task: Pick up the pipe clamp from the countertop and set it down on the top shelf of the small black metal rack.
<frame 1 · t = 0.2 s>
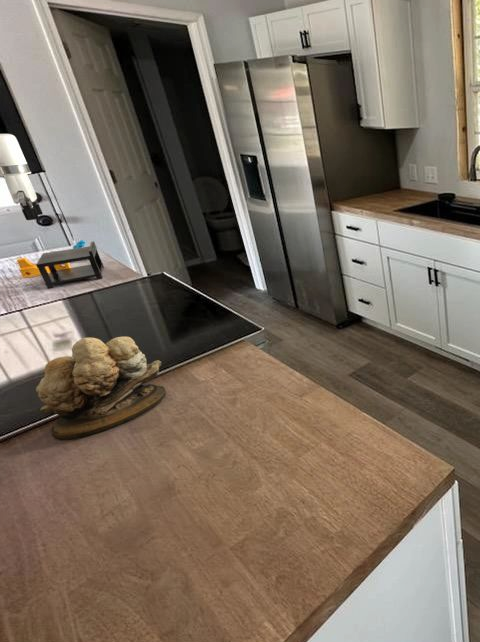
hand: (35, 217, 152), 20 cm above the worktop, tool pointing down, fingers open, 9 cm apart
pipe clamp: (48, 273, 156), on the worktop
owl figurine: (116, 412, 83), on the worktop
rack: (77, 277, 151), on the worktop
gear: (79, 260, 169), on the worktop
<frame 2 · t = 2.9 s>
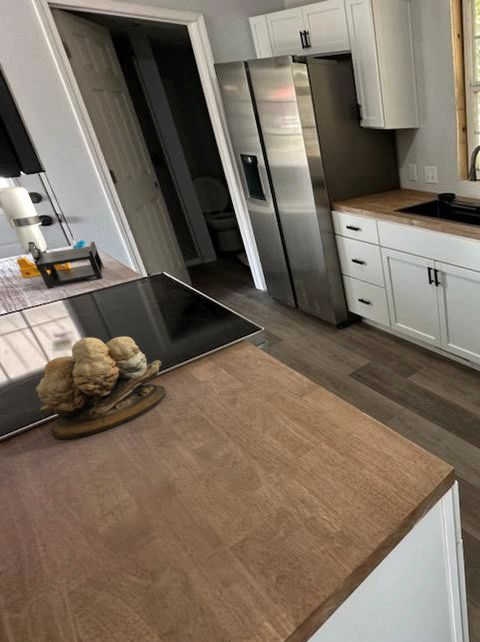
hand: (45, 268, 155), 2 cm above the worktop, tool pointing down, fingers closed on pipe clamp, 4 cm apart
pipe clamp: (48, 273, 156), on the worktop, touching gripper
everything else where it was.
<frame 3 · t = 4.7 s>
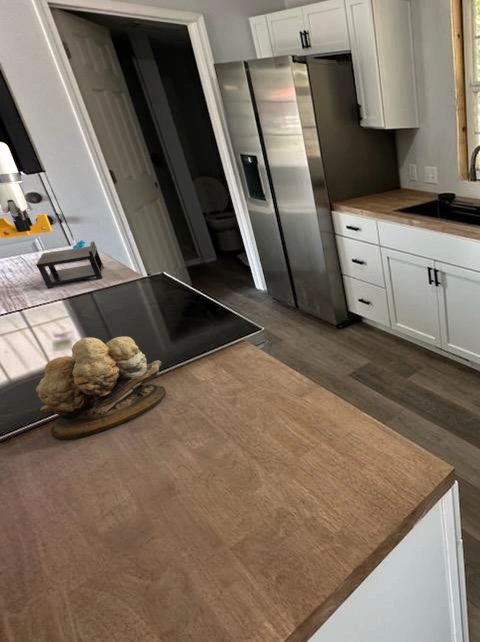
hand: (25, 229, 149), 17 cm above the worktop, tool pointing down, fingers closed on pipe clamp, 4 cm apart
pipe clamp: (28, 234, 150), point 15 cm above the worktop, touching gripper
everything else where it was.
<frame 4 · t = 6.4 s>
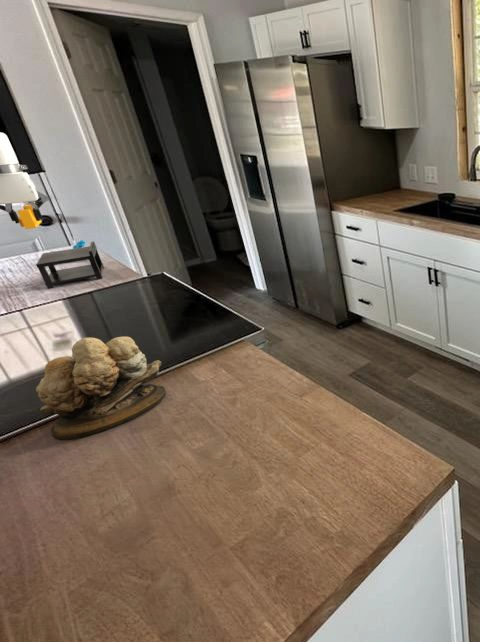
hand: (28, 220, 148), 20 cm above the worktop, tool pointing down, fingers closed on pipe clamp, 4 cm apart
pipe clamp: (30, 226, 148), point 18 cm above the worktop, touching gripper
everything else where it was.
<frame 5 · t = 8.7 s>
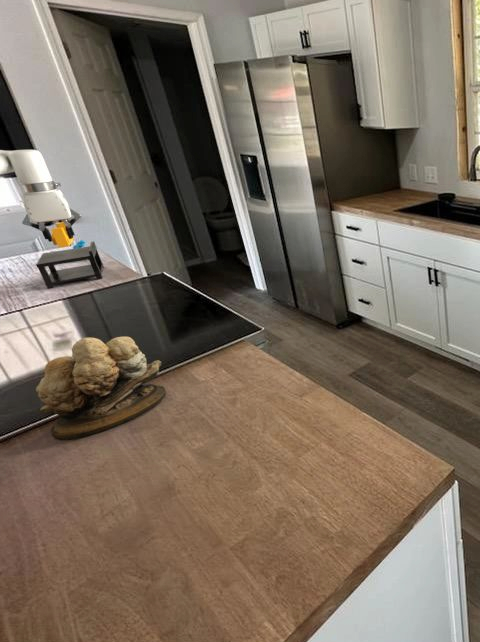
hand: (61, 238, 146), 15 cm above the worktop, tool pointing down, fingers closed on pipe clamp, 4 cm apart
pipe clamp: (63, 244, 146), point 13 cm above the worktop, touching gripper
everything else where it was.
when the fingers open (11 cm above the worktop, at t = 10.1 s): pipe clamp stays where it is, resting on rack.
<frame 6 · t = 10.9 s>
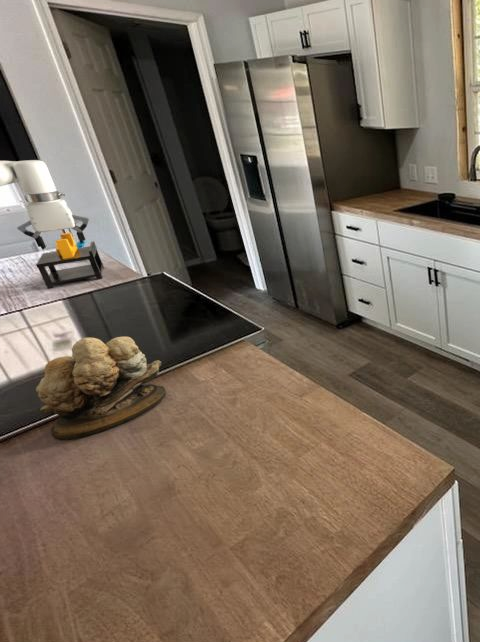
hand: (63, 245, 146), 12 cm above the worktop, tool pointing down, fingers open, 9 cm apart
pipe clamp: (67, 254, 148), point 9 cm above the worktop, touching rack
everything else where it was.
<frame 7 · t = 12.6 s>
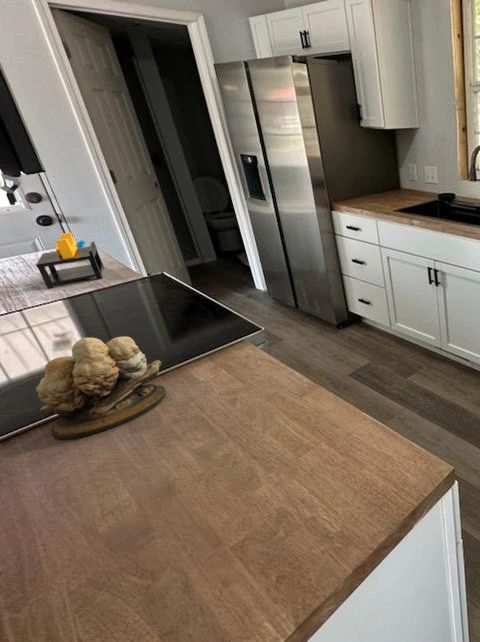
nothing on the worktop moved.
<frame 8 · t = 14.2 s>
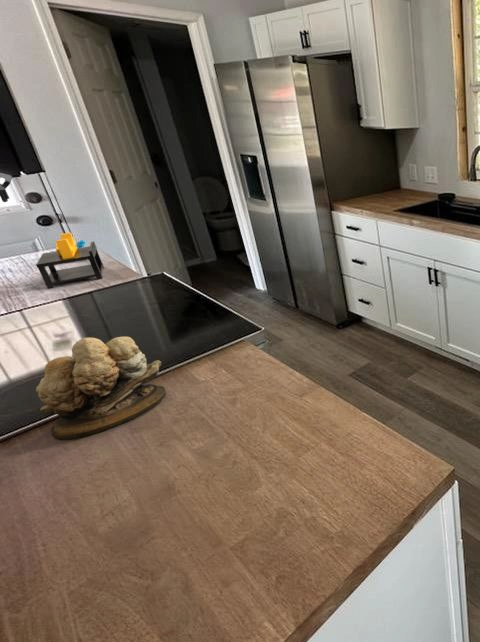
nothing on the worktop moved.
at the end: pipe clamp inside the target area on the rack (0.1 cm from its centre), point 8.8 cm above the rack's base; the gripper is holding nothing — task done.
